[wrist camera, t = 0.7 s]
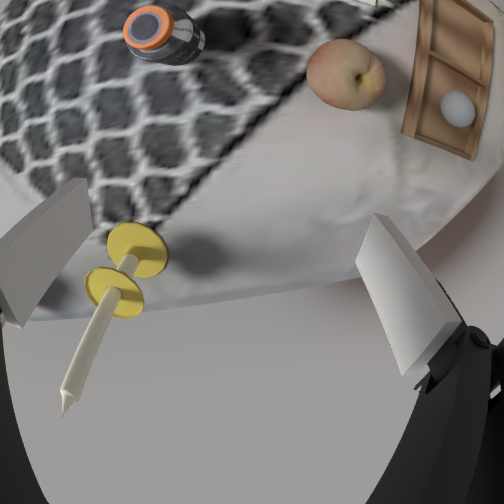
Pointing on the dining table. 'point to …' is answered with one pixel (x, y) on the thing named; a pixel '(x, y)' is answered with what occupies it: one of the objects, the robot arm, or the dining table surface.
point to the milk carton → (499, 4)
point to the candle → (114, 295)
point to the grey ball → (457, 108)
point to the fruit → (346, 75)
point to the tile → (368, 2)
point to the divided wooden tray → (449, 73)
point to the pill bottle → (163, 35)
